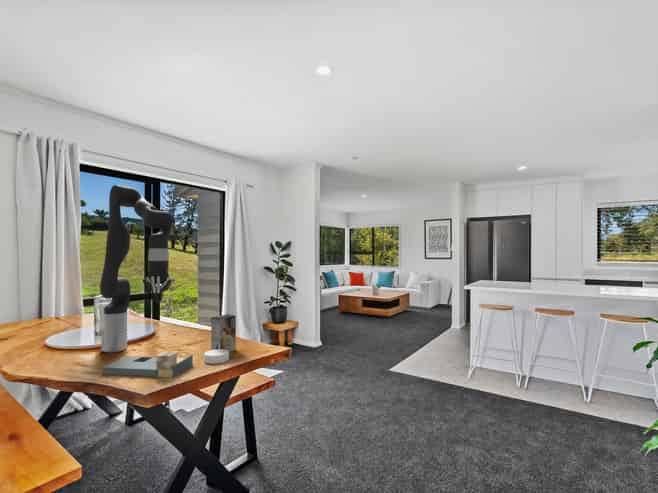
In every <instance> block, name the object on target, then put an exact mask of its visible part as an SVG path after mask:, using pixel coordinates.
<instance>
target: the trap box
mask: <svg viewBox="0 0 658 493" xmlns="http://www.w3.org/2000/svg"><path fill="white" fill-rule="evenodd" d="M193 357H194V356H193V354H190V355H188V356H187V357H177V364H175V365H174V366H172V368H171V369H170V370H163V369H156V366H157V356H144V355H143V356H139V355H126V356H124V357H122V358H120V359H118V360H115V361H113V362H112V363H109V364H107V365H104V366H103V367H102V371H101V372H102V375H112V374H117V375H116V376H133V375H139V376H138V377H154V376H156V378H175V377H177V376H178V375H179V374H181V373H182V372H184V371H185V370H186V369H188V368H190V367H191V366H193V365H194V364H193V363H194V362H193Z"/></svg>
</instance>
